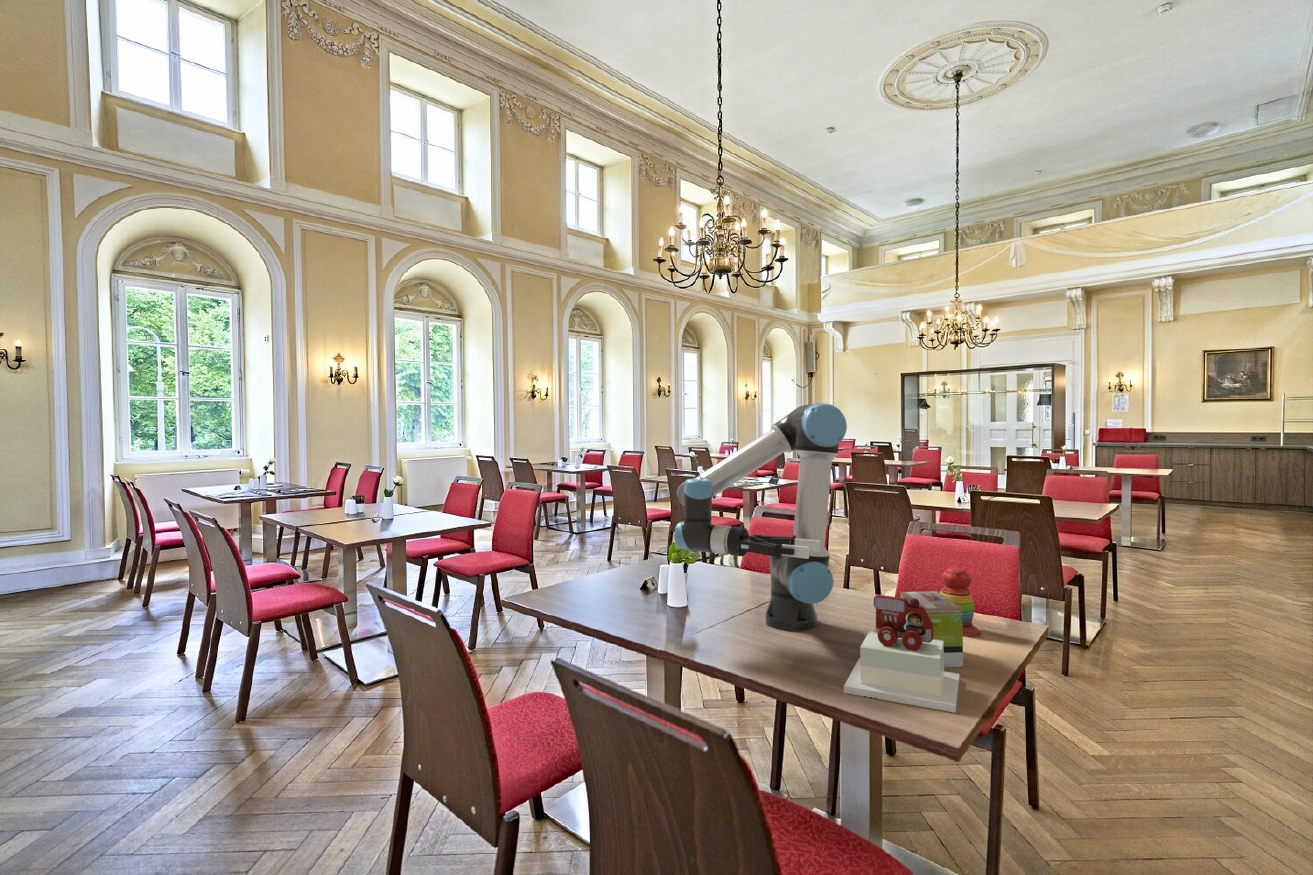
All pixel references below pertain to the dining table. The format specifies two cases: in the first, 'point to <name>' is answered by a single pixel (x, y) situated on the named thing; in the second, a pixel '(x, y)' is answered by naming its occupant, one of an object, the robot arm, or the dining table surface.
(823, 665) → the dining table surface
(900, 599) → the toy fire truck
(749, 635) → the dining table surface
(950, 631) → the tea box
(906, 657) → the block on white base
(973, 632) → the stacking bear
